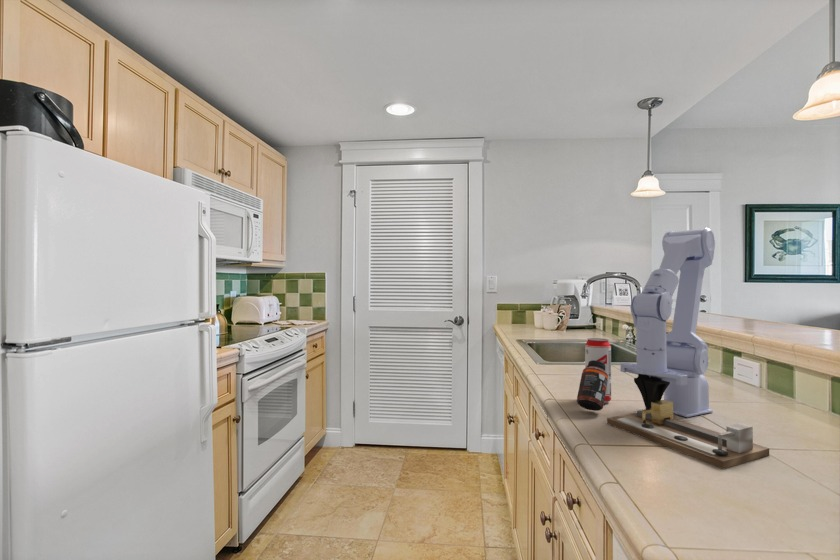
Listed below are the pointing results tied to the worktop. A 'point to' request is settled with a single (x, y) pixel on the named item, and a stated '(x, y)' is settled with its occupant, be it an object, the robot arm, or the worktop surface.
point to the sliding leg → (659, 411)
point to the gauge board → (696, 439)
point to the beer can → (600, 358)
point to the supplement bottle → (593, 386)
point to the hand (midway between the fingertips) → (652, 411)
